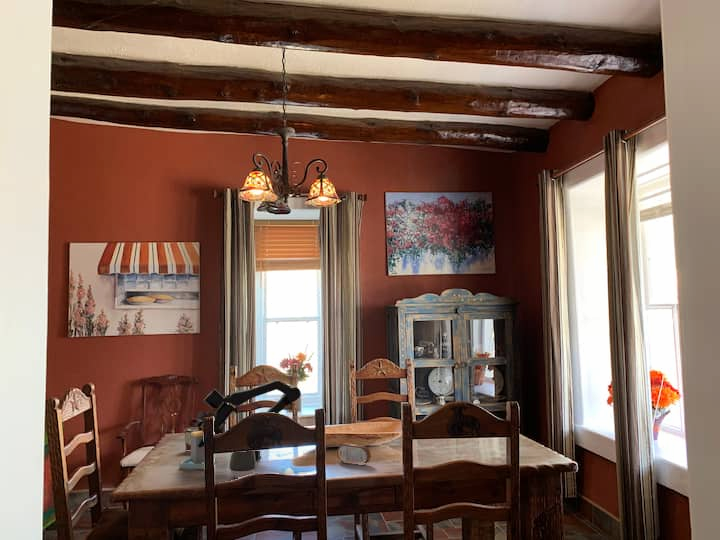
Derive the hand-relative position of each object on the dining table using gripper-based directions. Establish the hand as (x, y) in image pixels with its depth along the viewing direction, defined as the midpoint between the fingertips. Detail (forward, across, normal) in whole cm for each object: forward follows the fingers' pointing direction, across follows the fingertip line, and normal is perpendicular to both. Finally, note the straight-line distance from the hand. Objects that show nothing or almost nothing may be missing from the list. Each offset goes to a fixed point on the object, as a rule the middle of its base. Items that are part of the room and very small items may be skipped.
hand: (195, 445), depth 217 cm
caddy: (+4, 0, +6) cm, 7 cm away
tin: (-32, +39, +44) cm, 67 cm away
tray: (+5, 0, +7) cm, 8 cm away
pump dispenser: (0, +25, +12) cm, 28 cm away
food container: (-3, -25, +15) cm, 29 cm away
